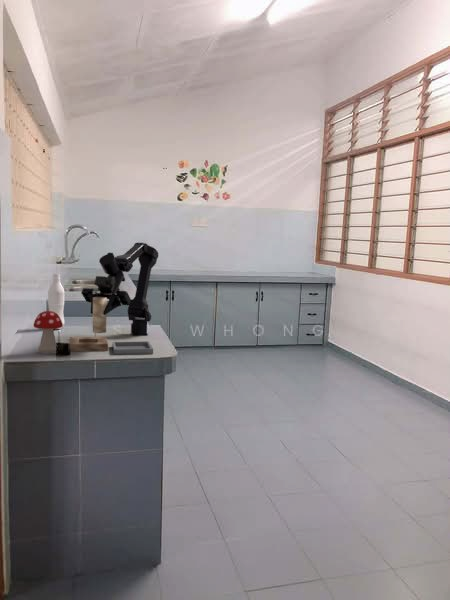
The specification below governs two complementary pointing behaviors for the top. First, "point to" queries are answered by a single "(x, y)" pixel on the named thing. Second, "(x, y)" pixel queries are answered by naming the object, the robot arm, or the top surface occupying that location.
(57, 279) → the water bottle
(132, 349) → the tray
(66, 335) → the top surface
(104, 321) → the dowel
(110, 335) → the top surface
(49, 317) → the decorative mushroom
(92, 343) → the holder
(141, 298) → the robot arm
